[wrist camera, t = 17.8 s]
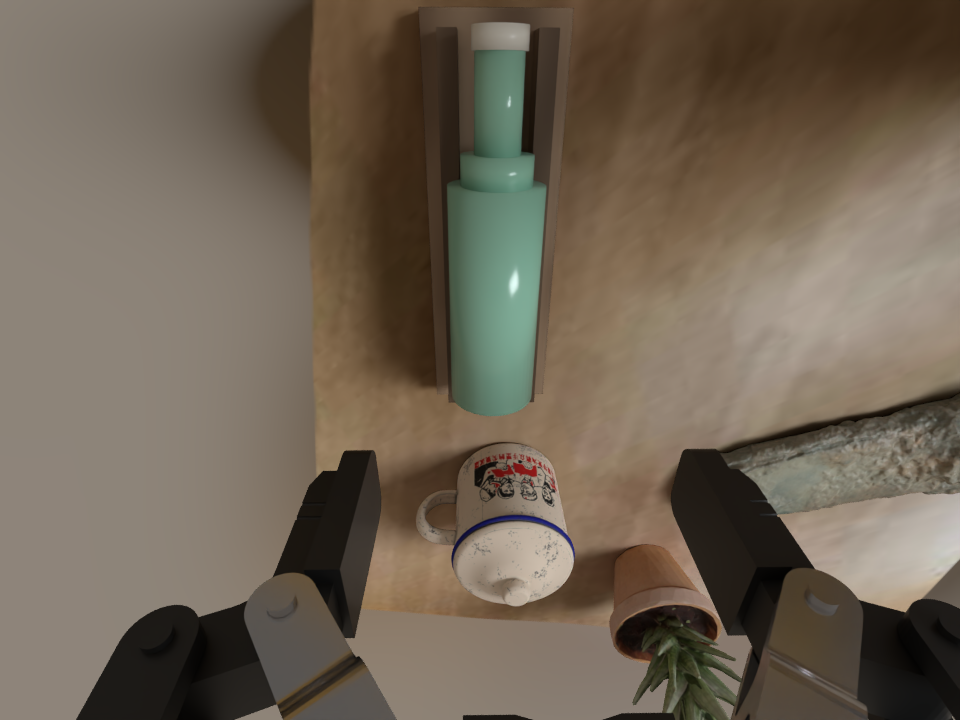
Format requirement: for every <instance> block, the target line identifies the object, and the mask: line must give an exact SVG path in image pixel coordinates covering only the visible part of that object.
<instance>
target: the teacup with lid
mask: <svg viewBox="0 0 960 720" xmlns="http://www.w3.org/2000/svg"><path fill="white" fill-rule="evenodd" d="M440 504H457V507H456V530H443V529H438V528H435V527H433V526H431V525H430V524H429V523H428V522H427V521H426V518H425V517H426V515H427V513H428V512H429V511H430V510H431V509H432V508H434V507H435V506H437V505H440ZM416 526H417V529H418V532H419V533H420V534H421V535H422V536H423V537H424V538H425V539H427V540H428V541H430V542H433V543H436V544H442V545H455V546H454V548H453V551H452V567H453V570H454V572H455V575H456V577H457V579H458V580H459V582H460V583H461V585H462V586H463V587H464V588H465V589H466V590H468V591H469V592H470V593H472V594H473V595H475V596H477V597H479V598H481V599H484V600H487V601H490V602H495V603H501V604H508V605H510V606H521V605H524V604H525V603H527V602H532V601H535V600H538V599H541V598H544V597H546V596H548V595H550V594H551V593H553V592H555V591H556V590H557V589H559V588H560V587H561V586H562V585H563V584H564V583H565V581H566V580H567V579H568V577H569V575H570V573H571V571H572V568H573V563H574V558H575V552H574V547H573V544H572V542H571V540H570V538H569V537H568V534H567V529H566V524H565V520H564V515H563V510H562V505H561V500H560V495H559V491H558V486H557V481H556V476H555V472H554V469H553V467H552V465H551V463H550V462H549V460H548V459H547V458H546V457H545V456H544V455H543V454H541V453H540V452H539V451H537V450H535V449H533V448H531V447H528V446H525V445H521V444H515V443H502V444H495V445H491V446H488V447H485V448H483V449H481V450H479V451H477V452H476V453H474V454H473V455H471V456H470V457H469V458H468V459H467V460H466V461H465V463H464V464H463V466H462V467H461V469H460V472H459V475H458V481H457V490H441V491H437V492H434V493H432V494H431V495H429V496H428V497H427V498H425V499H424V501H423V502H422V503H421V505H420V506H419V509H418V511H417V516H416Z"/></svg>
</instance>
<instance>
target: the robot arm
mask: <svg viewBox="0 0 960 720" xmlns="http://www.w3.org/2000/svg"><path fill="white" fill-rule="evenodd" d="M302 503H303V504H302V506H301V508H300V510H299V513H298V515H297V520H295V523H294V525H293V528H292V530H291V533H290V535H289V538H288V541H287V543H286V546H285V548H284V551H283V553H282V556H281V558H280V561H279V563H278V566H277V568H276V571H275V573H274V575H273V577H272V578H271V579H269V580H267V581H266V582H264V583H263V584H262V585H260V586H259V587H258V588H257V589H256V590H255V591H254V593H253V594H252V595H251V596H250V598H249V600H248V601H246V602H244V603H242V604H240V605H237V606H234V607H232V608H228V609H225V610H221V611H218V612H214V613H211V614H208V615H205V616H201V617H198V616H197V614H196V613H195V611H194V610H192V609H191V608H189V607H187V606H183V605H171V606H166V607H163V608H160V609H157V610H155V611H153V612H151V613H149V614H147V615H146V616H144V617H143V618H141V619H140V620H138V621H137V622H136V623H135V624H134V625H133V626H132V627H131V628H129V629H128V631H127V632H126V633H125V635H124V636H123V637H122V639H121V640H120V642H119V644H118V645H117V647H116V649H115V651H114V653H113V654H112V656H111V658H110V660H109V662H108V664H107V665H106V667H105V669H104V671H103V673H102V674H101V676H100V678H99V680H98V681H97V683H96V685H95V687H94V689H93V690H92V692H91V694H90V696H89V697H88V699H87V701H86V703H85V705H84V706H83V708H82V710H81V712H80V714H79V715H78V717H77V719H76V720H235V719H237V718H240V717H243V716H246V715H249V714H251V713H254V712H257V711H259V710H262V709H265V708H268V707H270V706H273V705H276V704H277V706H278V708H279V711H280V714H281V716H282V718H283V720H397V719H396V717H395V716H394V714H393V712H392V710H391V709H390V707H389V705H388V703H387V702H386V700H385V698H384V696H383V694H382V693H381V691H380V689H379V688H378V686H377V684H376V682H375V680H374V678H373V677H372V675H371V673H370V671H369V670H368V668H367V666H366V665H365V663H364V662H363V660H362V659H361V658H360V657H359V656H358V657H355V655H354V654H353V652H352V650H351V649H350V647H349V645H348V644H347V642H346V640H345V638H355V634H356V628H357V624H358V619H359V614H360V610H361V605H362V600H363V595H364V591H365V586H366V581H367V576H368V572H369V567H370V562H371V557H372V552H373V548H374V543H375V538H376V533H377V528H378V524H379V519H380V512H381V491H380V483H379V476H378V469H377V461H376V455H375V452H374V451H373V450H353V451H344V453H343V455H342V458H341V461H340V464H339V467H338V470H337V471H323V472H322V473H321V474H320V475H319V476H318V477H317V478H316V479H315V480H314V481H313V482H312V483H311V484H310V485H309V487H308V490H307V492H306V495H305V497H304V500H303V502H302ZM671 505H672V511H673V514H674V517H675V519H676V521H677V524H678V526H679V528H680V530H681V533H682V535H683V537H684V539H685V541H686V544H687V546H688V548H689V550H690V553H691V555H692V557H693V559H694V561H695V564H696V566H697V568H698V570H699V573H700V575H701V577H702V579H703V581H704V584H705V586H706V588H707V590H708V593H709V595H710V597H711V599H712V601H713V604H714V606H715V608H716V610H717V613H718V615H719V617H720V619H721V621H722V623H723V626H724V628H725V630H726V632H727V635H747V637H748V639H749V641H750V643H751V645H752V647H751V649H750V652H749V654H748V658H747V661H746V665H745V669H744V673H743V676H742V680H741V683H740V687H739V691H738V695H737V698H736V702H735V705H734V709H733V713H732V717H731V720H953V719H952V716H953V717H954V718H955V720H960V609H959V608H957V607H955V606H953V605H950V604H948V603H945V602H942V601H938V600H933V599H921V600H917V601H915V602H913V603H912V604H911V606H910V607H909V608H908V610H907V611H906V613H905V612H901V611H898V610H894V609H890V608H886V607H882V606H879V605H875V604H871V603H867V602H864V601H861V600H858V599H857V597H856V596H855V595H854V593H853V592H852V591H851V590H850V589H849V588H848V587H847V586H846V585H844V584H843V583H842V582H840V581H839V580H838V579H836V578H834V577H833V576H831V575H829V574H827V573H824V572H822V571H819V570H815V568H814V567H813V565H812V564H811V563H810V561H809V560H808V558H807V557H806V555H805V554H804V552H803V551H802V549H801V548H800V546H799V545H798V544H797V542H796V541H795V539H794V538H793V536H792V535H791V533H790V532H789V530H788V529H787V527H786V526H785V525H784V523H783V522H782V520H781V519H780V517H777V513H776V511H775V510H774V508H773V507H772V506H771V504H770V503H768V500H767V498H766V497H765V495H764V494H763V492H762V491H761V489H760V488H759V487H758V485H757V484H756V483H755V482H754V481H753V480H752V479H750V478H749V477H748V476H747V475H745V474H744V473H743V472H742V471H740V470H739V469H730V468H729V467H728V465H727V463H726V462H725V460H724V459H723V457H722V456H721V454H720V453H719V451H717V450H716V449H685V450H684V451H683V452H682V455H681V458H680V462H679V466H678V469H677V473H676V477H675V481H674V484H673V488H672V492H671ZM463 720H532V719H528V718H525V717H521V716H517V715H464V716H463ZM604 720H675V717H674V714H673V713H625V714H624V713H622V714H619V715H616V716H613V717H610V718H607V719H604Z"/></svg>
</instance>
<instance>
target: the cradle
mask: <svg viewBox="0 0 960 720" xmlns="http://www.w3.org/2000/svg"><path fill="white" fill-rule="evenodd" d="M573 12H574V8H507V7H419V26H420V47H421V68H422V89H423V110H424V131H425V151H426V172H427V193H428V214H429V235H430V256H431V277H432V297H433V318H434V339H435V360H436V381H437V394H448V397H449V402H455V401H454V399H453V397H452V378H451V334H450V291H449V248H448V205H447V184H448V183H450V182H452V181H455V180H459V179H460V154H461V153H463V152H468V151H474V51H471V24H475V23H488V22H508V23H524V24H529V25H530V43H529V51H527V52H526V59H525V80H524V102H523V124H522V145H521V151H522V152H528V153H532V154H534V155H535V161H534V178H533V180H535V181H538V182H541V183H543V184H545V185H546V201H545V215H544V229H543V243H542V257H541V271H540V284H539V298H538V312H537V326H536V340H535V354H534V367H533V381H532V395H531V400H530V401H529V402H534V394H543V385H544V372H545V360H546V347H547V335H548V322H549V310H550V298H551V285H552V273H553V260H554V248H555V236H556V223H557V211H558V198H559V186H560V173H561V161H562V149H563V136H564V124H565V111H566V99H567V87H568V74H569V62H570V49H571V37H572V24H573Z"/></svg>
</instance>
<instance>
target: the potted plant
mask: <svg viewBox="0 0 960 720" xmlns="http://www.w3.org/2000/svg"><path fill="white" fill-rule="evenodd" d="M609 622H610V631H611V637H612V640H613V644H614V647H615V648H616V649H617V651H618V652H619V653H621V654H622V655H623V656H624V657H626V658H629V659H632V660H635V661H638V662H642V663H650V665H649V667H648V671H647V674H646V677H645V678H644V680H643V681H642V682H641V685H640V686H639V688H638V691H637V693H636V695H635V697H634V699H633V705H636V704H637V702H638V701H639V699H640V698H641V696H642V695H643V694H644V693H645V691H646V690H647V688H648V687H649V686H650V685H651V687H650V691H651V692H653V691H654V690H655V689H656V688H657V687H658V686H659V685H660V684H661V683H662V681H663V680H665V679H669V680H668V684H667V689H666V694H665V700H664V706H663V711H662V713H673V714H674V717H675V720H730V719H729V717H728V715H727V714H726V712H725V711H724V709H723V708H722V706H721V705H720V704H719V702H718V701H717V699H716V697H717V698H719V699H721V700H723V701H725V702H727V703H730V704H731V705H733V706H734V705H735V702H736V698H737V696H736V695H735V694H734V693H733V692H732V691H731V690H730V689H729V688H728V687H726V685H725V684H724V683H722V681H720V680H719V679H718V678H717V677H716V676H715V675H714V674H713V673H712V672H711V671H710V670H709V669H708V668H707V667H713V668H716V669H718V670H720V671H722V672H724V673H725V674H727V675H728V676H730V677H732V678H733V679H735V680H737V681H739V682H741V680H742V679H741V678H740V677H739V676H737V675H736V674H735V673H734V672H733V671H732V670H731V669H730V668H728V667H727V666H726V665H724V664H723V663H722V662H720V661H719V660H718V659H716V658H715V657H713V656H712V655H716V656H719V657H722V658H726V659H729V660H732V661H736V659H735V658H733V657H731V656H729V655H727V654H726V653H724V652H722V651H719V650H717V649H715V648H712V647H710V646H711V645H718V644H717V643H715V641H716V640H717V639H718V638H719V636H720V633H721V629H722V626H721V622H720V618H719V616H718V614H717V612H716V610H715V608H714V606H713V604H712V602H711V601H710V600H709V599H708V598H707V597H706V596H705V595H703V594H701V593H700V592H699V591H698V590H697V588H696V587H695V586H694V584H693V583H692V582H691V580H690V579H689V578H688V577H687V575H686V574H685V573H684V571H683V570H682V569H681V567H680V566H679V565H678V564H677V562H676V561H675V560H674V558H673V557H672V556H671V554H670V553H669V552H668V551H667V550H666V549H664V548H662V547H659V546H655V545H639V546H636V547H634V548H631V549H628V550H626V551H625V552H624V553H623V554H621V555H620V556H619V557H618V558H617V559H616V561H615V566H614V611H613V613H612V615H611V617H610V621H609ZM711 654H712V655H711Z"/></svg>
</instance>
